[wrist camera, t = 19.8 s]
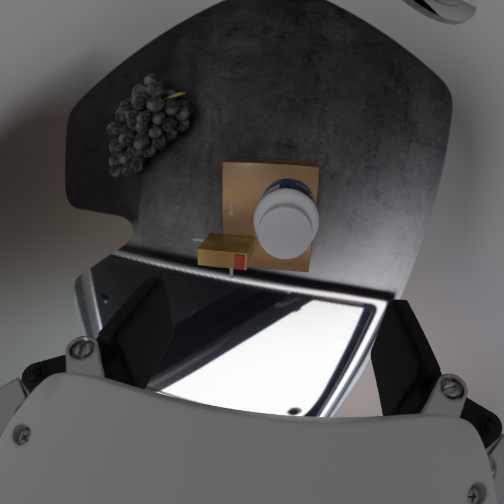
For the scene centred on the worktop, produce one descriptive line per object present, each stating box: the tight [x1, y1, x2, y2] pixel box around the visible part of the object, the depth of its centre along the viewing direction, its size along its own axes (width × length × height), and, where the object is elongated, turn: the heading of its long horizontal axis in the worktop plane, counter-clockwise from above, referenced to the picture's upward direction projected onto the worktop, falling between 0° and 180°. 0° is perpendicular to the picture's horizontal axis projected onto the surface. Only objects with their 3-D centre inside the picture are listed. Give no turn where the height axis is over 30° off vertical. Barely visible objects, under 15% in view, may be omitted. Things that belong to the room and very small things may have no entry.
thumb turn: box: [197, 233, 254, 270], centre depth 29 cm, size 5×2×5 cm, turn 88°
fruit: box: [107, 73, 194, 177], centre depth 28 cm, size 9×8×15 cm
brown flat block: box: [193, 158, 319, 278], centre depth 32 cm, size 14×14×5 cm
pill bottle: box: [253, 178, 319, 259], centre depth 24 cm, size 5×5×10 cm
